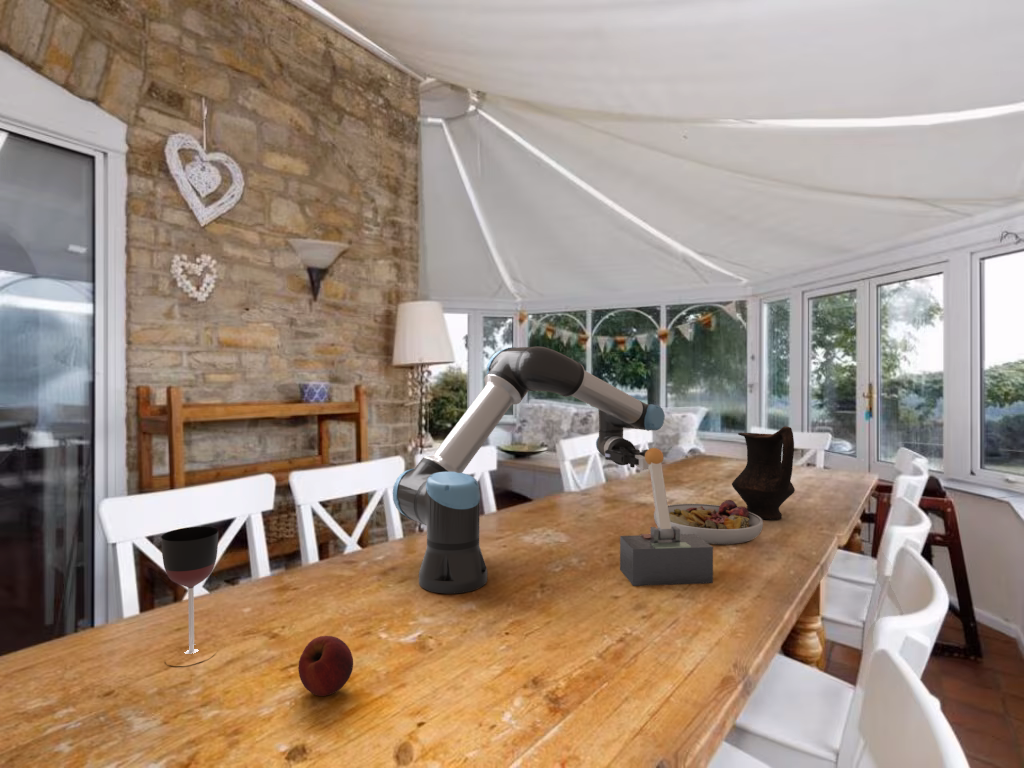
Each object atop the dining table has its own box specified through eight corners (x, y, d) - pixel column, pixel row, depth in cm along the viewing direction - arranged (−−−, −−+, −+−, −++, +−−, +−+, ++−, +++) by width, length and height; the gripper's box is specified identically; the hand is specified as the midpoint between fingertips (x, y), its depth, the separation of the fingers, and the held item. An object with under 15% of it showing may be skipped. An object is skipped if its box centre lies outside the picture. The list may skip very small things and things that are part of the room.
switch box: (620, 569, 131) (620, 523, 131) (694, 567, 132) (694, 521, 132) (632, 585, 121) (633, 535, 121) (712, 583, 123) (713, 533, 122)
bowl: (727, 555, 142) (727, 525, 142) (633, 530, 165) (633, 504, 165) (781, 534, 161) (782, 507, 161) (690, 514, 184) (690, 490, 184)
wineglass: (206, 638, 97) (204, 524, 97) (228, 654, 91) (227, 533, 91) (154, 655, 91) (153, 534, 90) (175, 674, 85) (173, 544, 85)
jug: (719, 511, 186) (720, 422, 186) (764, 507, 192) (765, 420, 191) (765, 528, 166) (766, 428, 165) (814, 523, 171) (815, 426, 171)
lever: (653, 541, 128) (641, 451, 136) (672, 540, 128) (658, 450, 137) (659, 538, 124) (646, 445, 132) (678, 537, 124) (664, 445, 133)
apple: (286, 695, 80) (286, 640, 80) (331, 671, 86) (331, 620, 86) (319, 713, 76) (319, 654, 75) (364, 686, 82) (364, 632, 82)
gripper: (641, 462, 165) (670, 478, 141) (598, 463, 164) (620, 479, 140) (641, 437, 165) (670, 448, 141) (598, 438, 164) (620, 450, 140)
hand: (645, 464), depth 141 cm, fingers closed
